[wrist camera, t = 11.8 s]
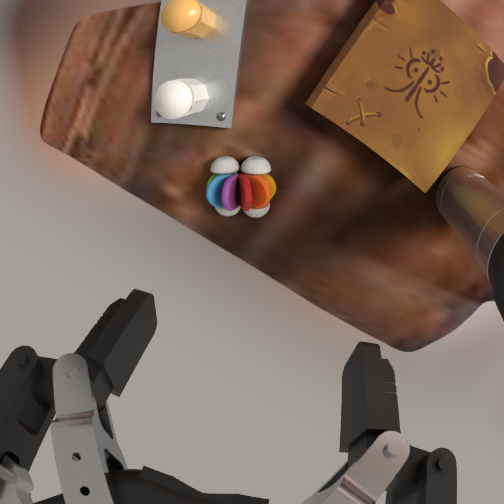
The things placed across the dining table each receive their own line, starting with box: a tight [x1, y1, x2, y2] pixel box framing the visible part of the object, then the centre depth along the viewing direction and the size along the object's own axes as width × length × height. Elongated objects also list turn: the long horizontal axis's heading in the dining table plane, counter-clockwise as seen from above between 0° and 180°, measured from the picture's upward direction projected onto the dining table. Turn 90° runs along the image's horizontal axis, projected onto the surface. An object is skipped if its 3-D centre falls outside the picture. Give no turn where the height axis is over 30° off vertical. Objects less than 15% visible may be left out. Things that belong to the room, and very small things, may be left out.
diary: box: [305, 0, 504, 193], centre depth 27 cm, size 23×19×6 cm
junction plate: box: [151, 0, 249, 128], centre depth 30 cm, size 12×22×6 cm, turn 173°
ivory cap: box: [154, 79, 209, 120], centre depth 32 cm, size 5×5×6 cm
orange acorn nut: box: [161, 0, 216, 38], centre depth 26 cm, size 5×5×6 cm
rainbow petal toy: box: [206, 156, 276, 217], centre depth 39 cm, size 8×10×7 cm
